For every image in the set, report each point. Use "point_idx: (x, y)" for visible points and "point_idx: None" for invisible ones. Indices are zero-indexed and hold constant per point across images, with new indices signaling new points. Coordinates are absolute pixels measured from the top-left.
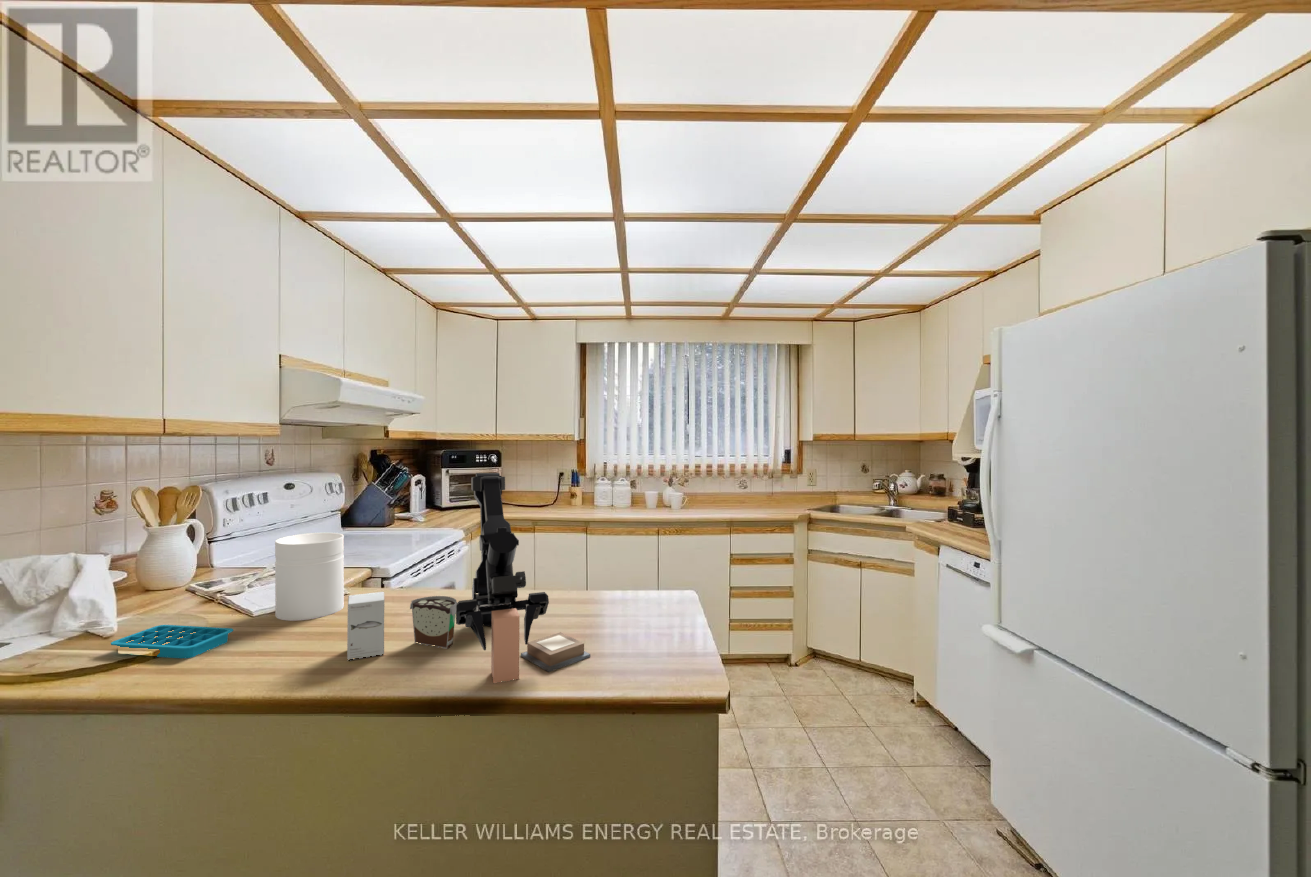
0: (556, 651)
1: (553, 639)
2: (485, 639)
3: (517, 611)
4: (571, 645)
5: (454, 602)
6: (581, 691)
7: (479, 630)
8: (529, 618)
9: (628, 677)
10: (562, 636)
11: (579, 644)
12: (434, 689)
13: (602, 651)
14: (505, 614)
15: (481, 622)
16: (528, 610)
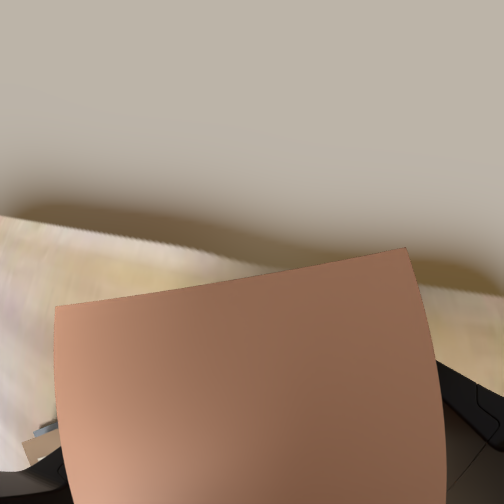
0: None
1: None
2: None
3: (69, 485)
4: (46, 450)
5: None
6: (88, 246)
7: (478, 391)
8: (54, 468)
9: (10, 290)
10: None
11: (30, 443)
12: (487, 325)
13: (19, 444)
14: (226, 437)
15: (496, 439)
16: (14, 489)
